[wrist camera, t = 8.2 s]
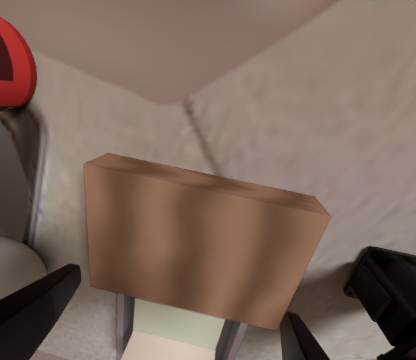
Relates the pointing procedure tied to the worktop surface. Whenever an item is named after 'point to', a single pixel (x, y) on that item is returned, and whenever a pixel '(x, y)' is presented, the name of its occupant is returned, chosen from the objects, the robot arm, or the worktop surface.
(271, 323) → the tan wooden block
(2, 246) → the air freshener
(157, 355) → the cream tile
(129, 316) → the box
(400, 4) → the worktop surface
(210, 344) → the sage tile
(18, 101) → the canned food
